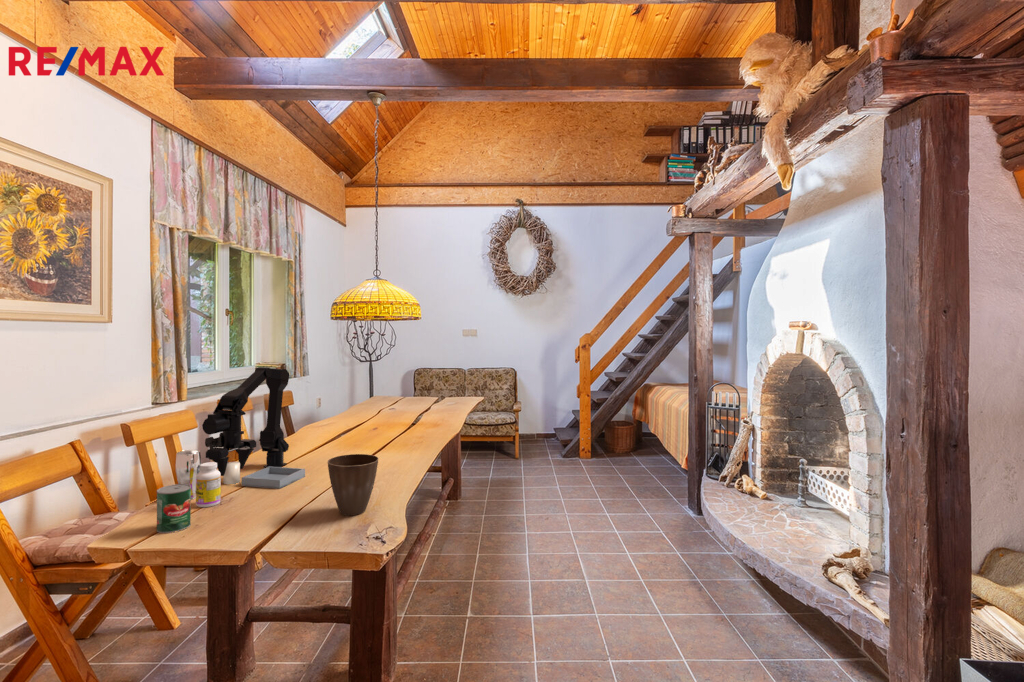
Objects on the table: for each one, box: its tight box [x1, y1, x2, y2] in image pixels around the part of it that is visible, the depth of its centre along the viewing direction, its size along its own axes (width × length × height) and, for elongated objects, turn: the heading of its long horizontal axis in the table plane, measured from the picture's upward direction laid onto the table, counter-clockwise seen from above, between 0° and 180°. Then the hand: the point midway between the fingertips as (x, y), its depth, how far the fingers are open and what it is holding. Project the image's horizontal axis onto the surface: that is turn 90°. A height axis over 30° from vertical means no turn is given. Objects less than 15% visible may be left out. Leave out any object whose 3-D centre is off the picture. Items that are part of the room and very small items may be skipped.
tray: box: [241, 466, 306, 490], centre depth 181 cm, size 15×15×3 cm
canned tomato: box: [156, 483, 192, 534], centre depth 138 cm, size 8×8×11 cm
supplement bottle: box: [195, 461, 222, 508], centre depth 156 cm, size 7×7×13 cm
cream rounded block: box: [222, 461, 241, 486], centre depth 178 cm, size 5×5×7 cm
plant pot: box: [327, 453, 379, 516], centre depth 152 cm, size 15×15×16 cm
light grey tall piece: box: [175, 449, 202, 500], centre depth 162 cm, size 7×7×15 cm
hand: (231, 472), depth 179 cm, fingers open, 9 cm apart
